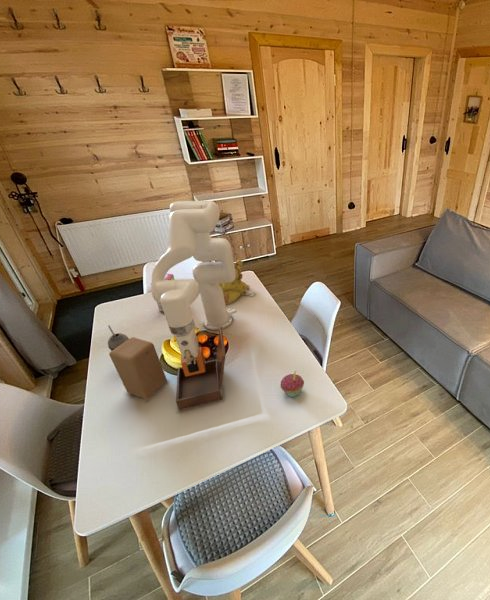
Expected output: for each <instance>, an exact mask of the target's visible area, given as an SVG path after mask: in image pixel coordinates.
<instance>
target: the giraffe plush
mask: <svg viewBox="0 0 490 600" xmlns="http://www.w3.org/2000/svg"><path fill="white" fill-rule="evenodd" d="M243 265H244V264H243V261H242V260H241V259H237V260H236V262H234V266H235V272H236V277H235V280H234V281H233V282H230V283H218V284H219V285H220V287H221V288H222V291H223V296H224V300H225V305H229V304H232V303H234V302H236V301H237V300H238V299H239V298H240V297H241V295H243V296H249V297H254V295H255V293H249V292H245V291H246V290H249V288H250V285H249V284H247V283H246V282H245V281H243V280H242V279H243V273H242V268H241V267H242V266H243Z"/></svg>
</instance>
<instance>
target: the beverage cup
mask: <svg viewBox="0 0 490 600" xmlns="http://www.w3.org/2000/svg"><path fill="white" fill-rule="evenodd" d="M107 327H108V329H109V331H110V332H111V335H110V337H109V338H108V340H107V347H108V349H109V350H110V352H111V351H112V350H114V349H115V348H117V347H118V346H120V345H121V344H123V343H124V342H126V341H127V340H128V339H130V337H128V336H127V335H126V334H124V333H121V332H120V333H119V332H117V333H115V332H114V331H113V329H112V327H111V325H109V324H108V325H107Z"/></svg>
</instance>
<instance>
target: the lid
mask: <svg viewBox="0 0 490 600" xmlns="http://www.w3.org/2000/svg"><path fill="white" fill-rule="evenodd" d="M223 329H224V328H223ZM223 329H222V327H220V329H219V330H218V332H219V333H218V341H217V347H216V349H217V350H216V357H215V360H216V361H217V374H218V387H219V390H221V389H222V385H223V379H224V371H225V364H226V349H225V348H226V347H225V339H224V333H223V332H224V330H223Z"/></svg>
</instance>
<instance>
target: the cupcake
mask: <svg viewBox="0 0 490 600" xmlns="http://www.w3.org/2000/svg"><path fill="white" fill-rule="evenodd" d="M279 385H280V388H281V390H282V391H283V392H284V393H285V394H286V395H287V396H289V397H296V396H298V395H299V394H300V393H301V392H300V391H301V390H302V389H303V387H304V385H305V381H304V379H303V377H302V376H301V375H299V374H297V370H294V371H293V373H289V374H288V375H285V376H284V377H283V378H282V379H281V381H280V384H279Z"/></svg>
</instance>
